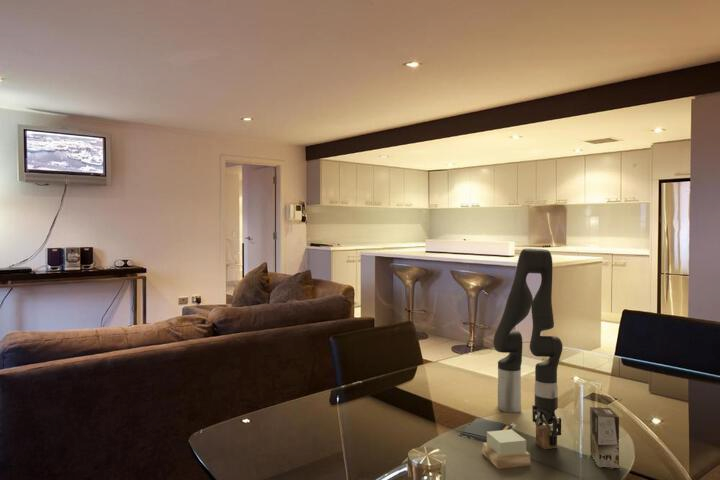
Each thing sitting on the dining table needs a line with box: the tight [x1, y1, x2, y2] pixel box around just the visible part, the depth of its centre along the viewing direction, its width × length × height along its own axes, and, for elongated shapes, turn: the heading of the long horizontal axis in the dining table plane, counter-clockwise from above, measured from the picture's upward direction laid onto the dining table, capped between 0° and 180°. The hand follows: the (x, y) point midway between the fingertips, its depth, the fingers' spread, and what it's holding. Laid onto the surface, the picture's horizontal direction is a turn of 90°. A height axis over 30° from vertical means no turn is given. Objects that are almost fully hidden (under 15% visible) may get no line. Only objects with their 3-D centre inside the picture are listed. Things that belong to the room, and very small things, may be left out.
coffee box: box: [589, 406, 620, 469], centre depth 152 cm, size 9×6×16 cm
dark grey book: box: [460, 417, 513, 443], centre depth 178 cm, size 20×2×15 cm
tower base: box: [481, 442, 531, 470], centre depth 154 cm, size 11×11×4 cm
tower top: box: [487, 428, 527, 456], centre depth 154 cm, size 9×9×4 cm
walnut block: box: [535, 424, 558, 450], centre depth 165 cm, size 5×5×6 cm
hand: (546, 441), depth 165 cm, fingers open, 7 cm apart
